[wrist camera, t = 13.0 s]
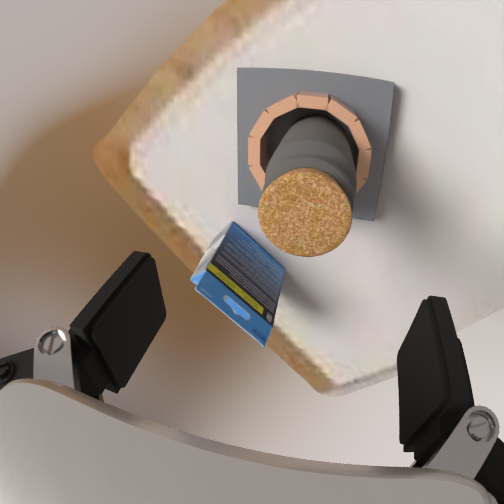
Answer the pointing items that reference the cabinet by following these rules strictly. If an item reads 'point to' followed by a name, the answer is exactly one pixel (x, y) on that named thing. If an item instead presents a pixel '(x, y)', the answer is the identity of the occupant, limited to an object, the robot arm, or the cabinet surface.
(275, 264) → the label tape box
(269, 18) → the cabinet surface
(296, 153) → the bottle
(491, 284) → the cabinet surface
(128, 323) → the robot arm
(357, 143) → the holder
